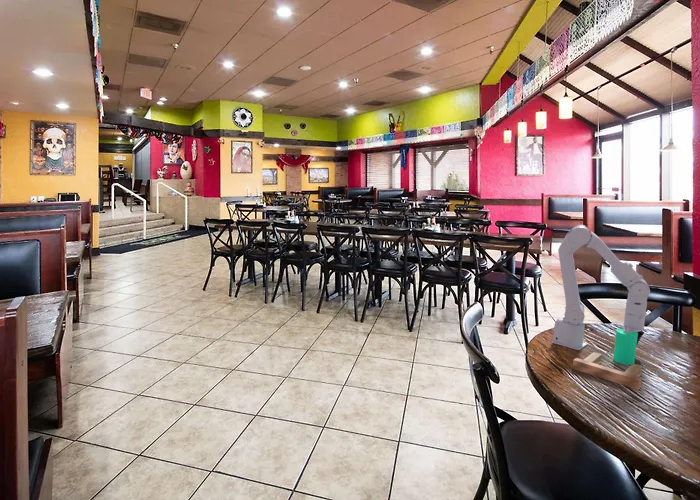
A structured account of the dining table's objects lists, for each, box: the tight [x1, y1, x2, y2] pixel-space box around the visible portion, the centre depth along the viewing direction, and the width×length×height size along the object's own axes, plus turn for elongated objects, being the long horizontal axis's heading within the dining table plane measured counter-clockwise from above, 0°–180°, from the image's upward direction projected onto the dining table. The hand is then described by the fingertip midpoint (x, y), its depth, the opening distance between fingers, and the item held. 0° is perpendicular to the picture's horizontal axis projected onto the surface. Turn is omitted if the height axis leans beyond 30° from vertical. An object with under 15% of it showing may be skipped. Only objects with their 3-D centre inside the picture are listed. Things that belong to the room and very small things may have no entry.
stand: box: [572, 351, 643, 391], centre depth 129 cm, size 18×11×3 cm, turn 41°
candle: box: [612, 327, 638, 366], centre depth 136 cm, size 6×6×12 cm
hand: (630, 350), depth 142 cm, fingers closed
